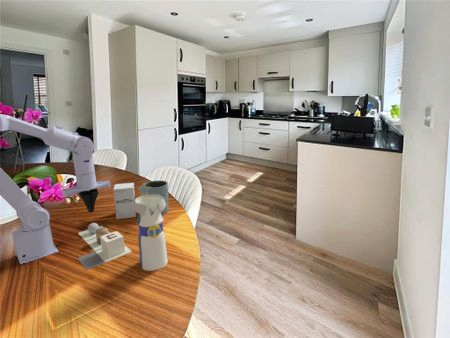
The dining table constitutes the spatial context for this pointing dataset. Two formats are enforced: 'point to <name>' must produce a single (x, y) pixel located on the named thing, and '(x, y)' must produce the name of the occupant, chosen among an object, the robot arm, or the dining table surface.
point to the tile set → (99, 245)
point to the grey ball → (93, 227)
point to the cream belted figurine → (151, 230)
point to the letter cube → (112, 244)
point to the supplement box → (124, 200)
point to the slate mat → (91, 260)
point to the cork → (100, 234)
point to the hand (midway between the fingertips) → (90, 211)
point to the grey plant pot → (159, 191)
